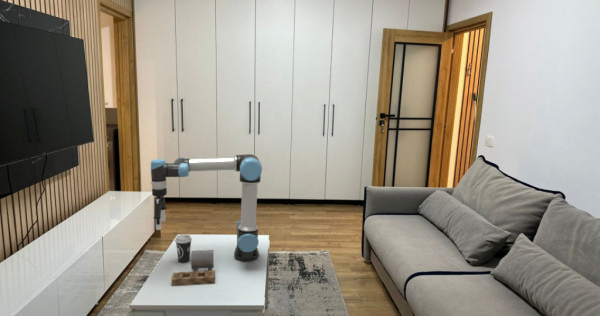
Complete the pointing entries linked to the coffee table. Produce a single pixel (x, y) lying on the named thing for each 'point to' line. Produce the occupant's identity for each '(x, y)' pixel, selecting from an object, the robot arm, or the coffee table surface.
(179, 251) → the coffee cup
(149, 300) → the coffee table surface
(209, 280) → the rail
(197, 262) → the grey flat block
